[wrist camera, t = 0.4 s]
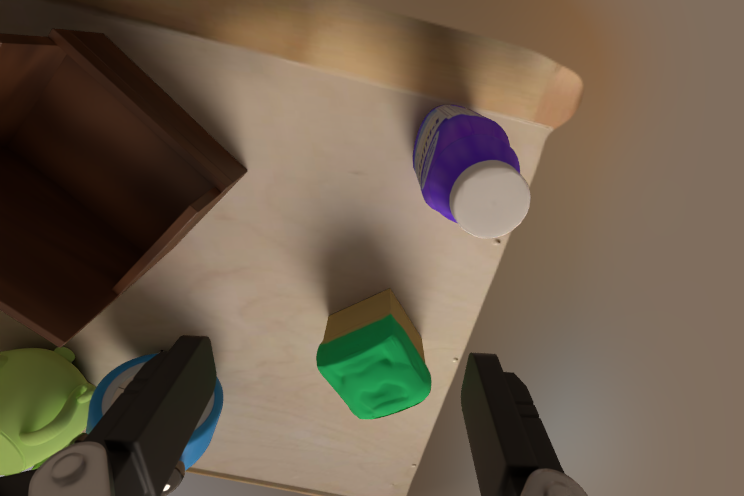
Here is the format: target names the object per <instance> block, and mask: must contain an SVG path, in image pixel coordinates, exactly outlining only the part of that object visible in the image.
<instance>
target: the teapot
mask: <svg viewBox="0 0 744 496" xmlns="http://www.w3.org/2000/svg"><path fill="white" fill-rule="evenodd" d="M74 359H75V355H74V353H73V352H72V351H71V350H70V349H68V348H66V347H61V348H59V347H57V348H56V349H55V350H54V351H51V350H48V349H42V348H23V349H14V350H8V351H3V352H0V475H5V476H7V475H12V474H16V473H20V472H22V471H24V470H25V469H28V468H29V467H32V466H33V465H34V467H33V468H32V470H34V469H37V468H39V467H40V466H41V465H42V464H43V463H44V462H45V461H46V460H47V459H48V458H49V457H51V456H52V455H53V454H55V453H56V452H58V451H60V450H62V449H63V448H66V447H67V445H68V444H69V442H70V441H71V440H72V439H73V438H75V437H76V436H77V435H79V434H80V433H81V432H82V431H83V430H84V429H85V428H86V427H87V419H88V411H89V404H90V400H91V397H92V395H93V393H94V391H95V389H96V387H95V386H94V385H93V384H90V383H88V382H87V381H86V379H85V378H84V376H83V375H82V374H81V373H80V371H79V370H78V369H77V368H76V367H75V366H74V365H73V364H72V363H71V362H72V361H73V360H74Z"/></svg>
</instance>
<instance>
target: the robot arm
mask: <svg viewBox="0 0 744 496" xmlns="http://www.w3.org/2000/svg"><path fill="white" fill-rule="evenodd" d="M216 377H217V376H216V368H215V363H214V357H213V352H212V346H211V341H210V339H209V337H206V336H188V335H182V336H180V337H179V338H178V339H177V341H176V342H175V344H174V345H173V346H172V348H171V349H170V350H169V352H163V351H161V352H160V353H158V354H157V355H156V356H154V357H153V358H151V359H150V360H149V361H147V362H146V363H145V364H144V365H143V366H142V367H141V369H140V370H139V371H138V372H137V374H136V375H135V376H134V378H133V381H130V383H129V384H128V385H127V386H126V388H125V389H124V392H123V393H121V394H120V395H119V397H118V398H117V399H116V400H115V402H114V403H113V404H112V405H111V407H110V408H109V409H108V410H107V412H106V413H105V414H104V416H103V417H102V418H101V419H100V421H99V422H98V423H97V424H96V426H95V427H94V428H93V429H92V431H91V432H90V433H89V434H88V436H87V437H86V438H85V439H84V441H83V442H80V443H76V444H73V445H70V446H68V447H66V448H63V449H62V450H60V451H58V452H56V453H55V454H53V455H52V456H51V457H49V458H48V459H47V460H46V461H45V462H44V463H43V464H42V465H41V466H40V467H39V468H37V469H34V470H29V471H25V472H20V473H16V474H12V475H7V476H3V477H0V496H161V494H162V492H163V490H164V488H165V486H166V484H167V482H168V480H169V478H170V476H171V475H172V473H173V471H174V469H175V467H176V465H177V463H178V461H179V459H180V457H181V455H182V453H183V451H184V449H185V447H186V445H187V443H188V441H189V439H190V438H191V436H192V434H193V432H194V430H195V428H196V426H197V424H198V422H199V420H200V418H201V416H202V414H203V412H204V410H205V408H206V406H207V404H208V402H209V401H210V399H211V397H212V395H213V392H214V389H215V385H216ZM461 404H462V411H463V415H464V420H465V425H466V429H467V434H468V439H469V443H470V447H471V452H472V457H473V461H474V466H475V470H476V474H477V479H478V484H479V488H480V493H481V496H587V494H586V492H585V491H584V490H583V488H582V487H580V485H579V484H578V483H576V482H575V481H574V480H573V479H572V478H570V477H569V476H567V475H566V474H565V473H564V471H563V469H562V467H561V465H560V462H559V460H558V458H557V455H556V453H555V451H554V449H553V447H552V444H551V442H550V439H549V437H548V435H547V433H546V430H545V428H544V426H543V423H542V421H541V419H540V418H539V414H538V412H537V410H536V407H535V405H533V400H532V398H531V396H530V393H529V391H528V389H527V387H526V385H525V384H524V383H523V382H522V381H521V380H520V379H519V378H518V377H517V376H516V375H515V374H514V373H509V372H503V370H502V367H501V365H500V362H499V359H498V357H497V355H496V354H486V353H470V354H469V357H468V362H467V366H466V371H465V375H464V380H463V385H462V390H461Z"/></svg>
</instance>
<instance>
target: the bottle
mask: <svg viewBox="0 0 744 496" xmlns="http://www.w3.org/2000/svg"><path fill="white" fill-rule="evenodd" d="M413 167H414V170H415V172H416V175H417V178H418V181H419V184H420V187H421V191H422V195H423V197H424V200H425V202H426V203H427V204H428V205H429V206H430V207H431V208H432V209H434V210H436V211H438V212H440V213H441V214H442V215H443V216H444V217H446V218H448V219H449V220H452V221H453V222H456V223H458V224H459V225H460V227H461V228H462V229H463V230H464V231H466V232H467V233H469V234H471V235H473V236H475V237H479V238H496V237H499V236H502V235H505V234H507V233H509V232H510V231H512V230H513V229H514V228H515V227H517V226H518V225H519V224H520V223H521V222H522V220H523V219H524V218H525V216H526V214H527V212H528V209H529V205H530V190H529V187H528V184H527V182H526V180H525V179H524V178H523V177H522V175H521V174H520V166H519V161H518V158H517V156H516V154H515V152H514V151H513V149H512V148H511V147H510V144H509V140H508V137H507V135H506V133H505V132H504V130H503V129H502V128H501V127H500V126H499V125H498V124H497V123H496V122H495V121H492V120H490V119H488V118H486V117H484V116H482V115H480V114H478V113H475V112H474V111H471V110H468V109H466V108H464V107H462V106H457V105H441V106H438V107H436V108H434V109H432V110H431V111H430V112H429V113H428V114H427V115H426V117H425V118H424V120H423V121H422V124H421V126H420V128H419V131H418V134H417V137H416V140H415V145H414V151H413Z"/></svg>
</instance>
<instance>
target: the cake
mask: <svg viewBox="0 0 744 496" xmlns="http://www.w3.org/2000/svg"><path fill="white" fill-rule="evenodd" d="M316 360H317V367H318V370H319V371H320V373H321V374H322V375H323V377H324V378H325V379H326V380H327V381H328V382H329V384H330V385H331V386H332V387H333V388H334V390H335V391H336V392H337V393H338V394H339V395H340V397H341V398H342V399H343V400H344V402H345V403H346V404H347V405H348V407H349V408H350V410H351V411H352V413H353V414H354V415H356V416H357V417H358V418H359V419H376V418H380V417H384V416H388V415H391V414H394V413H397V412H400V411H403V410H405V409H408V408H410V407H412V406H415V405H417V404H419V403H421V402H422V401H423V400H424V399H425V398H426V397H427V396H428V395H429V393H430V391H431V375H430V372H429V370H428V368H427V366H426V364H425V359H424V351H423V344H422V338H421V337H420V335H419V334H418V332H417V330H416V329H415V327H414V326H413V324H412V322H411V321H410V319H409V318H408V316H407V315H406V313H405V311H404V310H403V308H402V307H401V305H400V303H399V302H398V300H397V299H396V297H395V295H394V294H393V292H392V291H391V289H390V288H389V289H387V290H385V291H383V292H381V293H378V294H376V295H374V296H372V297H370V298H367V299H365V300H363V301H361V302H359V303H356V304H354V305H352V306H350V307H348V308H345V309H343V310H341V311H339V312H337V313H334V314H332V315H330V316H329V317H328V321H327V326H326V330H325V335H324V339H323V341H322V343H321V344H320V346H319V348H318V351H317V356H316Z"/></svg>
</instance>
